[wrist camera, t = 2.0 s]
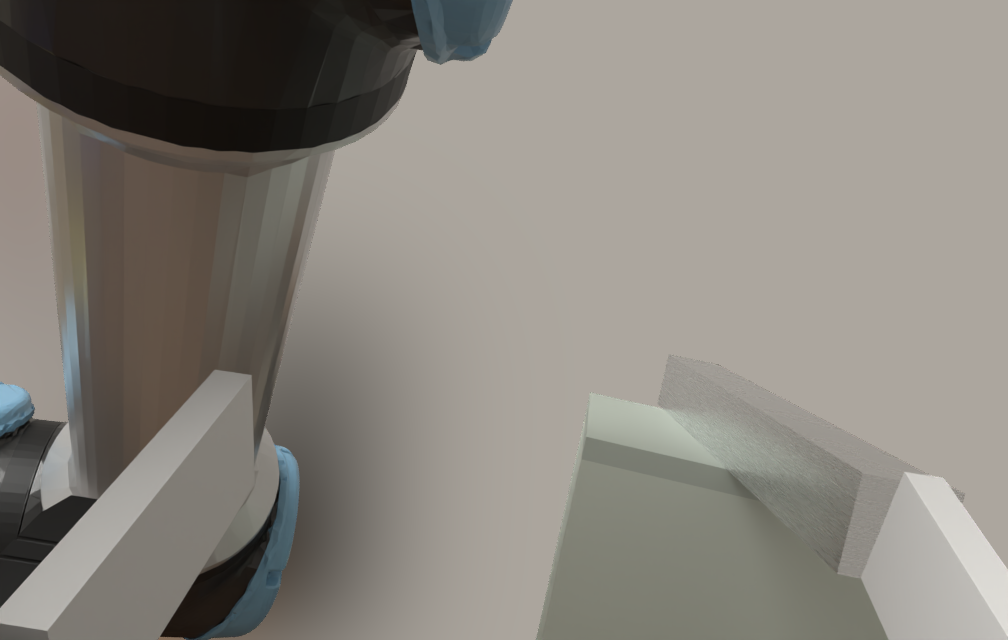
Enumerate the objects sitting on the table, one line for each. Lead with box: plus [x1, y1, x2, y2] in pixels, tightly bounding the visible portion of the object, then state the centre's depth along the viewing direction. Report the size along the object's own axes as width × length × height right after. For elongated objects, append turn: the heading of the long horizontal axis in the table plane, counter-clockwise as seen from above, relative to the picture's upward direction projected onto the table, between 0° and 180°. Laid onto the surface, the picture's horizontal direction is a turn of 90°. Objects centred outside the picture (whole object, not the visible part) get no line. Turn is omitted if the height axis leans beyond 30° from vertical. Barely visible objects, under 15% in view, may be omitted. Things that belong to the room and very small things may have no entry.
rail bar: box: [658, 355, 965, 579], centre depth 34 cm, size 24×3×3 cm, turn 1°
